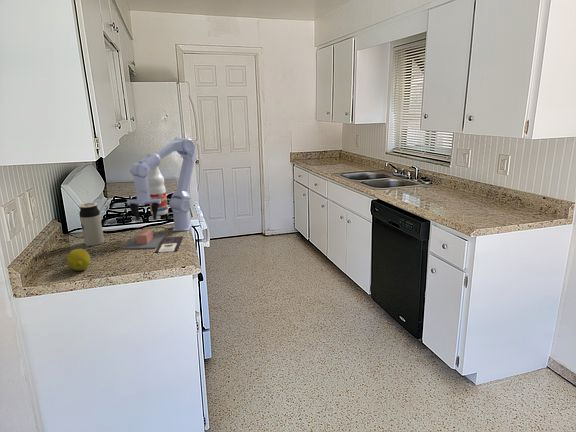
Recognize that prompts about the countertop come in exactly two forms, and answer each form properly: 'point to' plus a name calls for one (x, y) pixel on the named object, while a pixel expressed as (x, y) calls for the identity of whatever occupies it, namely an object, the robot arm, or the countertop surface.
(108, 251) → the countertop surface
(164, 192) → the fruit juice
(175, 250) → the chocolate bar
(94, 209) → the travel mug
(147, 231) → the block
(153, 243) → the mat
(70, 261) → the lemon
